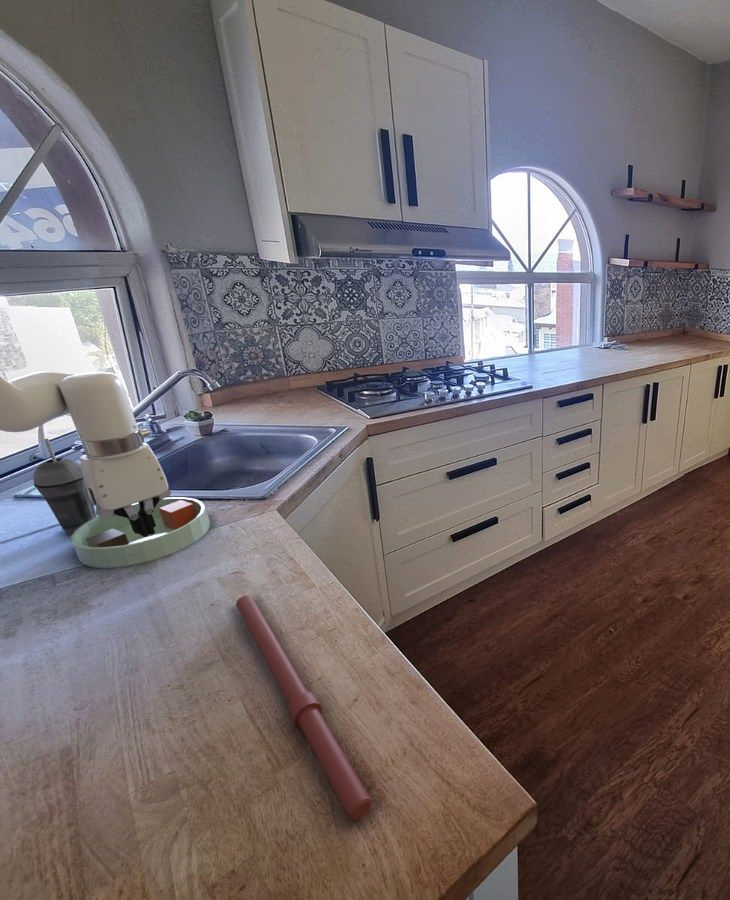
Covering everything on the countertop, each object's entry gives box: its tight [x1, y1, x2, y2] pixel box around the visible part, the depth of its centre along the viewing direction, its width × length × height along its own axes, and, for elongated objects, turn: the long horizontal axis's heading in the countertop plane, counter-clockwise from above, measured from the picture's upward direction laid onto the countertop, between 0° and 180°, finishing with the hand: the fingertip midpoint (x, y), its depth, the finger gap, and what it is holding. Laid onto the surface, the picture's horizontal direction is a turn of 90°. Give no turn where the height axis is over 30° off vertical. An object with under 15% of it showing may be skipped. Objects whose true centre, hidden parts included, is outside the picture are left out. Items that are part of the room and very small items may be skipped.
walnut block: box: [86, 529, 129, 547], centre depth 91 cm, size 4×4×4 cm
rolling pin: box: [235, 595, 373, 821], centre depth 65 cm, size 45×3×3 cm, turn 46°
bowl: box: [70, 496, 211, 569], centre depth 96 cm, size 19×19×4 cm
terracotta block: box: [159, 500, 197, 530], centre depth 101 cm, size 4×4×4 cm
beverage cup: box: [32, 438, 97, 536], centre depth 96 cm, size 7×7×20 cm
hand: (146, 533), depth 95 cm, fingers closed
